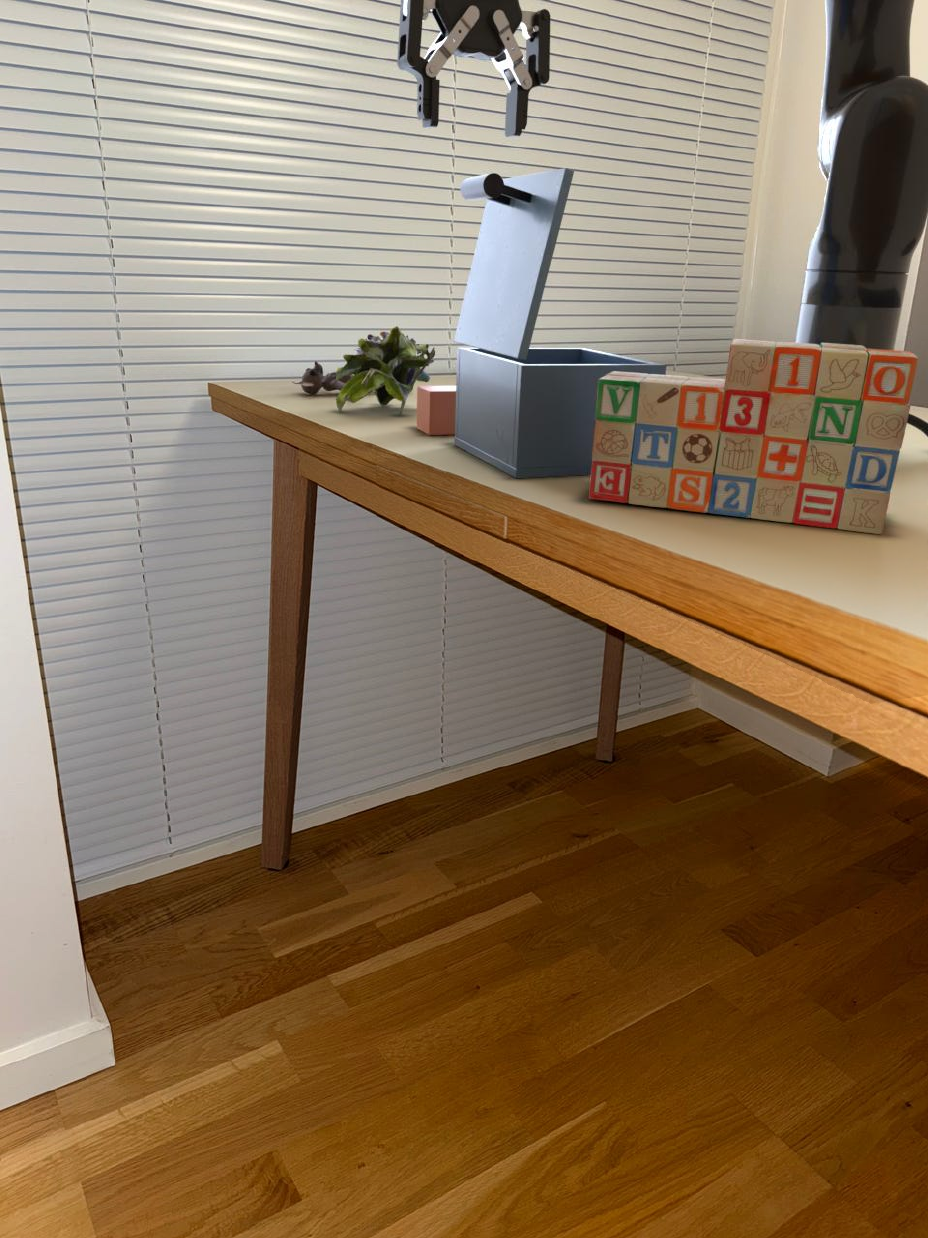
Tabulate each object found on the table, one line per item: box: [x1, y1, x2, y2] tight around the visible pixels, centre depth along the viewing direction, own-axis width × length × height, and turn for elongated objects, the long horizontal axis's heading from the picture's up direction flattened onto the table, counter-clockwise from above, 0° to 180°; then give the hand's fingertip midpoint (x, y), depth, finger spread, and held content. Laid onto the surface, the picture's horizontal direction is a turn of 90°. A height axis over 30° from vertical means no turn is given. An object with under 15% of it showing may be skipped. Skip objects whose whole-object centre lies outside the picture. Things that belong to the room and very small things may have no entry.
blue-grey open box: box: [454, 347, 667, 479], centre depth 86 cm, size 14×16×9 cm
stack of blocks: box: [588, 338, 919, 535], centre depth 69 cm, size 21×6×12 cm, turn 71°
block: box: [416, 385, 456, 436], centre depth 99 cm, size 4×4×4 cm
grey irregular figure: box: [291, 361, 354, 396], centre depth 125 cm, size 18×4×14 cm
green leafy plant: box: [335, 325, 436, 417], centre depth 110 cm, size 11×11×12 cm
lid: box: [453, 167, 575, 360], centre depth 79 cm, size 14×16×5 cm
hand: (472, 131), depth 87 cm, fingers open, 8 cm apart
